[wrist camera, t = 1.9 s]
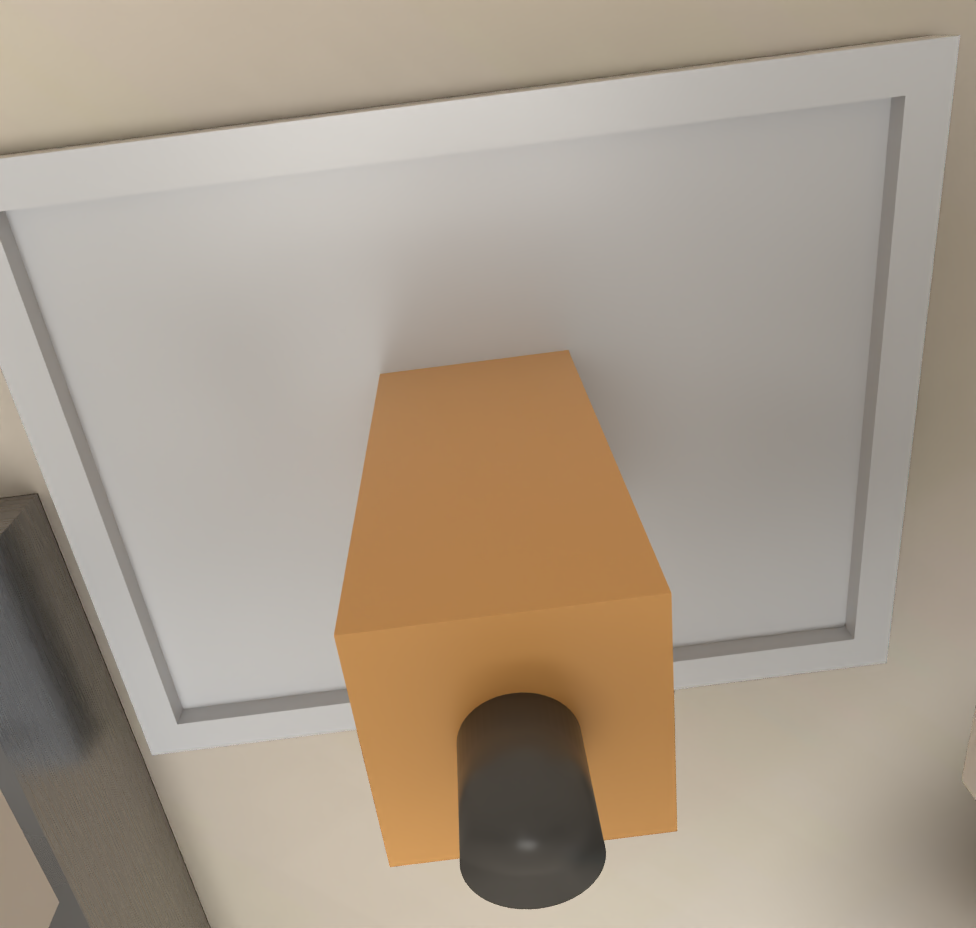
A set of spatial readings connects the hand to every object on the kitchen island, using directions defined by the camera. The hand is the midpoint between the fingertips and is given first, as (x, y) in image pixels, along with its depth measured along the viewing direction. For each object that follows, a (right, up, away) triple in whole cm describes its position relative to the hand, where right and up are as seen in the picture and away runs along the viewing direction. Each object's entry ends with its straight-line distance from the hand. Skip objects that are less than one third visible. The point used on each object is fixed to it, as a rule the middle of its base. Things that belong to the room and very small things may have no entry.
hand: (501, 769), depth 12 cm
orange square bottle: (0, +5, +10) cm, 11 cm away
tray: (0, +5, +10) cm, 11 cm away
